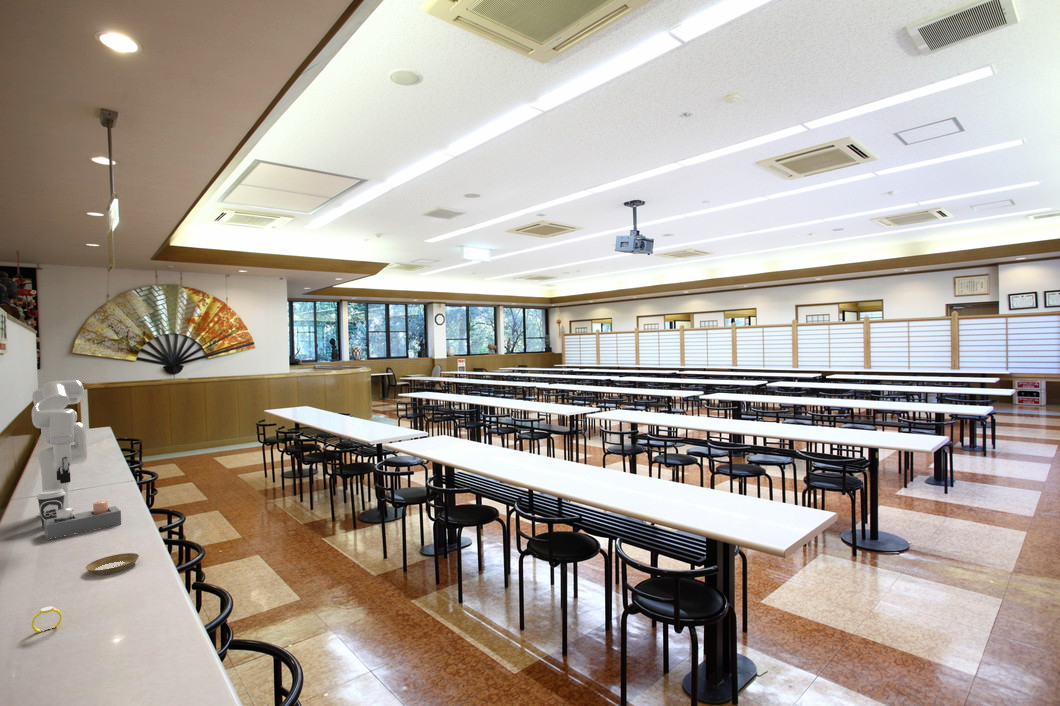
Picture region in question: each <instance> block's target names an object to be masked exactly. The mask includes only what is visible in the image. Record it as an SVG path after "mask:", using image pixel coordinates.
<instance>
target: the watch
mask: <svg viewBox="0 0 1060 706" xmlns="http://www.w3.org/2000/svg"><path fill="white" fill-rule="evenodd" d="M51 612H56V614H58V616H59V619H58V621H57V623H56V624H54V625H53V626H54V628H55V627H56V628H57V627H58V626H59V625H60V624H61V622H62V619H63V615H62V614H63V613H62V612H61V610H59V608H55V607H54V606H50V605H49V606H46V607H42V608H41V609H40V610H39V612H37V613H36V614H35V615H34V617H33V618H32V620H31V628H32V629H33V631H35V632H36V633H39V631H40V629H41V628H37V626H36V625H35V621H36V619H37V617H39V616H40V615H41V614H42V615H43V614H48V613H51ZM56 628H55V629H56Z"/></svg>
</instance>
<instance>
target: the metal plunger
mask: <svg viewBox="0 0 1060 706" xmlns="http://www.w3.org/2000/svg"><path fill="white" fill-rule="evenodd" d="M56 513H57V522H60V521H65V520H71V519H73V515H72V514H73V511H72V508H63V509H59V510H57V511H56Z"/></svg>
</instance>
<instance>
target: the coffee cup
mask: <svg viewBox="0 0 1060 706" xmlns="http://www.w3.org/2000/svg"><path fill="white" fill-rule="evenodd" d="M65 494H66V493H65V492H64V491H63V489H54V490H47V491H43V492H42V491H39V493H38V495H37V496H36V499H37V500H38V507H39V512H40V515H41V516H40V521H41V527H42V528H44V520H46V519H52V518H57V513H56V511H57V510H59V509H63V504H64V495H65Z"/></svg>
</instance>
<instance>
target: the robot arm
mask: <svg viewBox="0 0 1060 706" xmlns="http://www.w3.org/2000/svg"><path fill="white" fill-rule="evenodd" d="M84 393H85V389H84V386H83V383H82V382H81V381H79V380H77V379H76V380H75V379H72V380H70V379H67V380H53V381H49V382H46V383H44V384H43V385H42V387H41V388H39V389H36V390H34V391H33V392H32V397H31V398H32V402H33V407H32V409H31V421H32V424H33V426H34V427H35V428H36V429H41V430H40V431H41V440H42V442H43V443H44V444H45V445H50V446H51V447H46V448H44V449H42V450H40V451H39V452H38V457H37V458H38V463H39V466H40V474H41V490H42V491H41V492H43V491H47V490H54V489H63V491H64V492H65V493H66V494H65V495H64V504H63V508H72V510H73V509H74V510H75V507H74V506H70V485H69V484H70V482H71V471H70V467H71V466H72V465H79V464H82V463H85V462H86V461H87V458H88V447H87V432H86V426H85V425H84V423H82V422H79V421H78V414H77V411H76V410H74V409H72V408H67V406H68V405H75V404H79V403H80V402H81V401H82V399H83V396H84ZM77 421H78V422H77ZM74 510H73V511H74ZM38 517H41V515H40V511H39V512H38Z"/></svg>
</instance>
